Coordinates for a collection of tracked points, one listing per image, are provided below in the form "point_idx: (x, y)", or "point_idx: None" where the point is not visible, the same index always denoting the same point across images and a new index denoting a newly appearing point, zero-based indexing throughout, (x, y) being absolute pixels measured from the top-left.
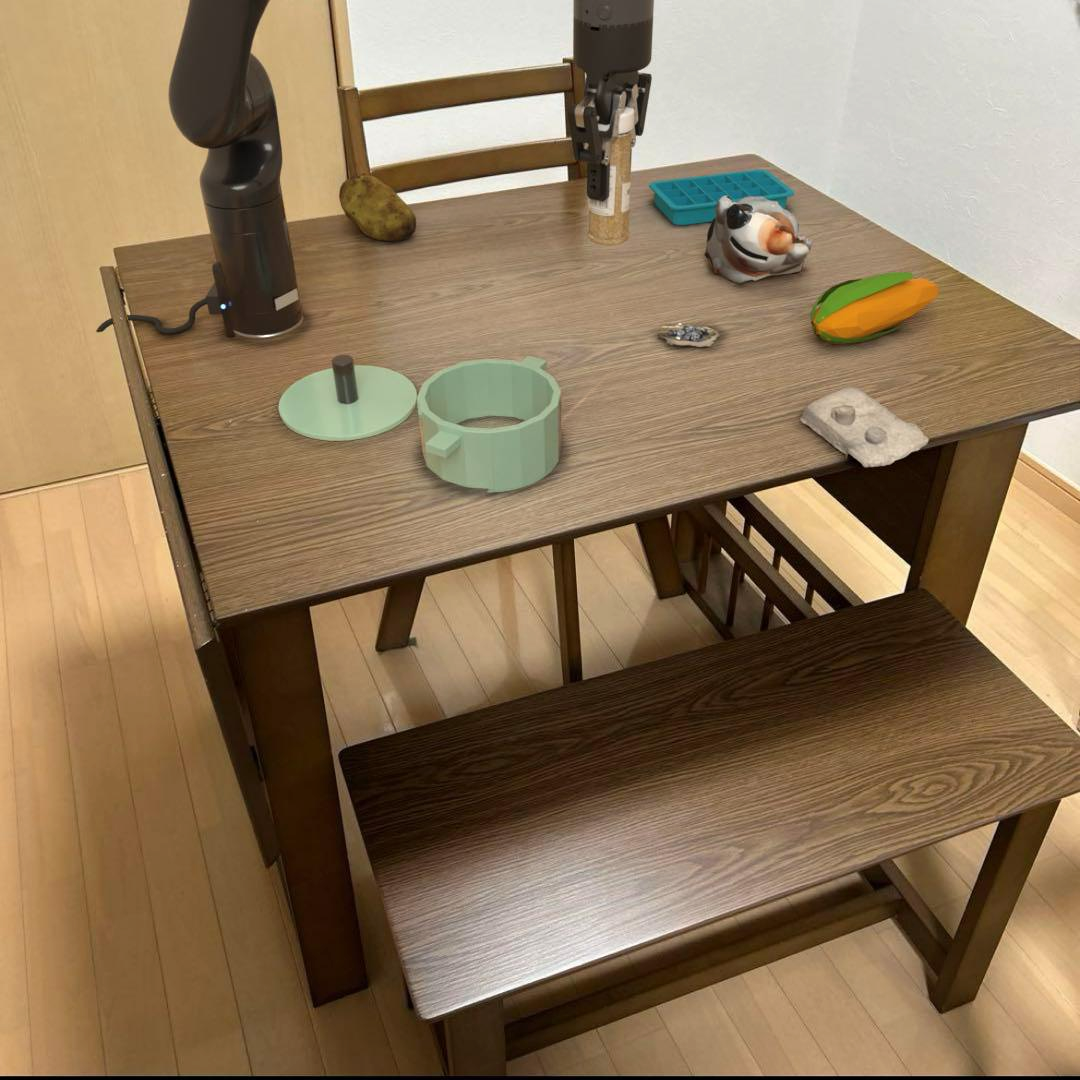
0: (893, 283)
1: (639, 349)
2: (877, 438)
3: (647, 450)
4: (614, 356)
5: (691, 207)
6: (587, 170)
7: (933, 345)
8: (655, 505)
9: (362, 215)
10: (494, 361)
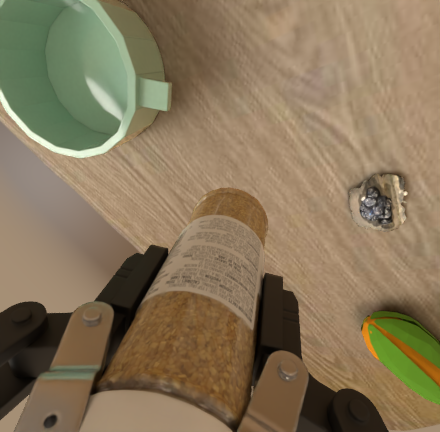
0: (419, 393)
1: (343, 159)
2: None
3: (166, 203)
4: (321, 136)
5: None
6: (100, 293)
7: (385, 371)
8: (107, 220)
9: None
10: (120, 50)
